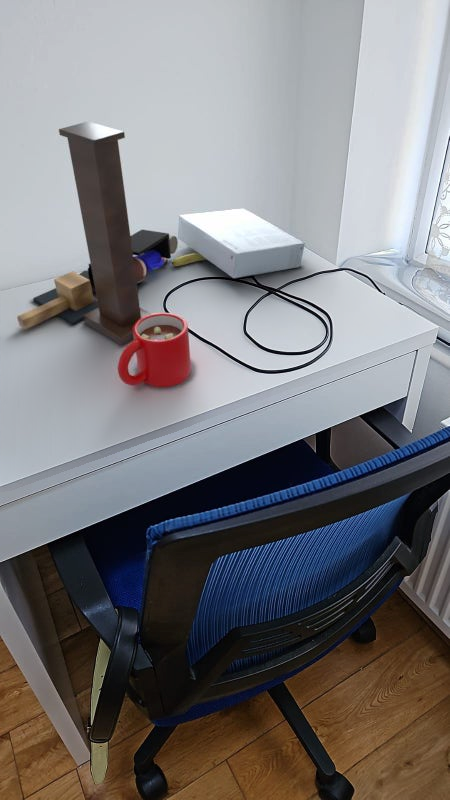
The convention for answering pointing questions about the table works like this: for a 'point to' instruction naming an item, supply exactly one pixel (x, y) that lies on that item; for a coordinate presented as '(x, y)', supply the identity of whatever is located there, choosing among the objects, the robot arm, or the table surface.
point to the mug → (158, 351)
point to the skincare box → (240, 242)
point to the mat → (68, 314)
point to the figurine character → (151, 250)
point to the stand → (105, 228)
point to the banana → (188, 259)
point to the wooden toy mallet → (61, 299)
